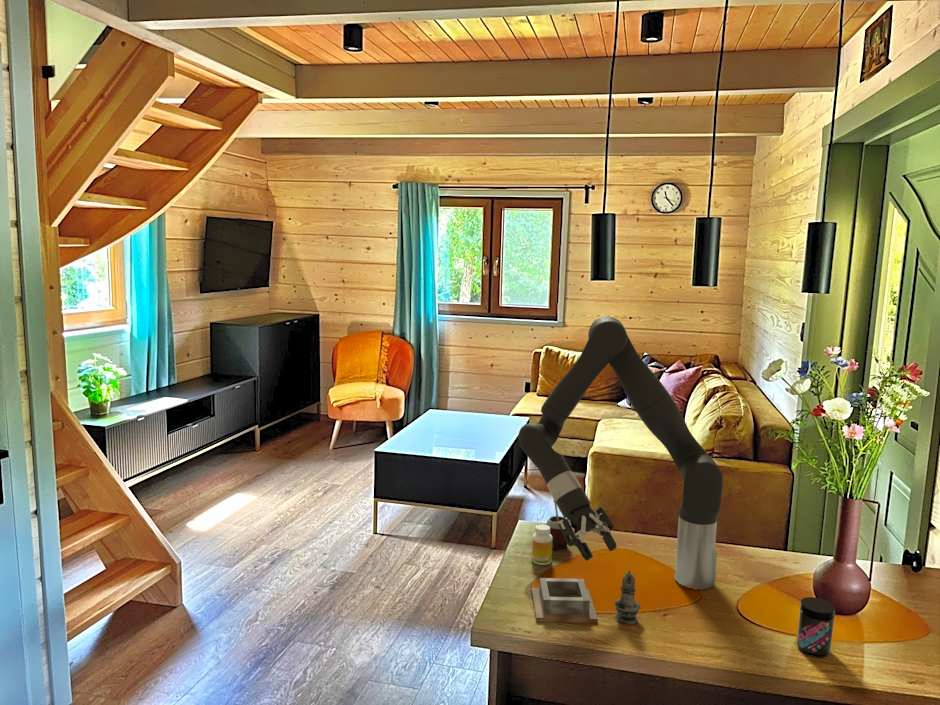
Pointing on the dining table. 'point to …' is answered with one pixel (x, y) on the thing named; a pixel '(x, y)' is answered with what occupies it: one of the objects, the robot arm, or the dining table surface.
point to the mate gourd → (556, 531)
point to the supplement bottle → (542, 545)
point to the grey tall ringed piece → (627, 602)
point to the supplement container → (815, 626)
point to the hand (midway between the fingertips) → (602, 554)
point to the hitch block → (563, 601)
